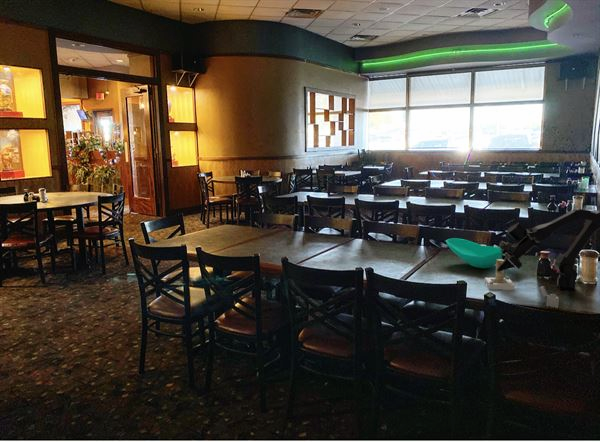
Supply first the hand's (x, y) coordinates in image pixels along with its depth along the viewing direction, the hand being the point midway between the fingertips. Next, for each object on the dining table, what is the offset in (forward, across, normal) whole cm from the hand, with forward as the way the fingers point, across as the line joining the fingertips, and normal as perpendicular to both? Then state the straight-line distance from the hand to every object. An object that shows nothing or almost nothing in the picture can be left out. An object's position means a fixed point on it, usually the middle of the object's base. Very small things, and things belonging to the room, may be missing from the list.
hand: (496, 269), depth 222 cm
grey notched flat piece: (-5, +26, +17) cm, 31 cm away
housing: (+5, 0, +7) cm, 8 cm away
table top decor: (+6, -35, +6) cm, 36 cm away
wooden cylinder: (+4, 0, +6) cm, 7 cm away
